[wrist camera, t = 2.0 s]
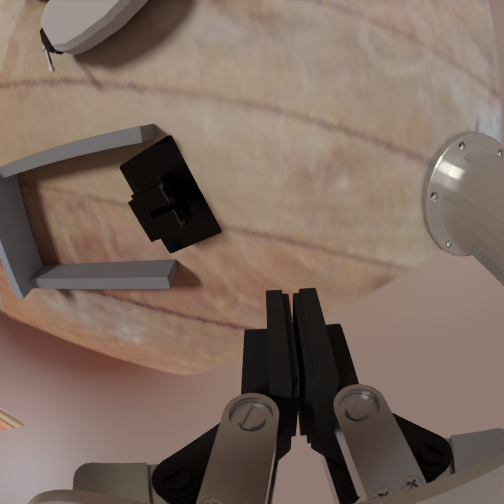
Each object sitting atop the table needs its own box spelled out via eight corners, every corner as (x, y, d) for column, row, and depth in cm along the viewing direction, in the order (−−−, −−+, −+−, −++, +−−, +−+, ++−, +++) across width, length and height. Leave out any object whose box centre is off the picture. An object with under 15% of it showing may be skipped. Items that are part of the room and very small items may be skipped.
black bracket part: (238, 240, 27) (234, 266, 23) (171, 267, 29) (158, 296, 25) (172, 114, 22) (153, 117, 18) (105, 156, 24) (78, 169, 19)
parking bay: (153, 123, 22) (128, 129, 17) (178, 270, 28) (163, 302, 23) (8, 163, 23) (-23, 177, 18) (40, 274, 29) (17, 297, 24)
